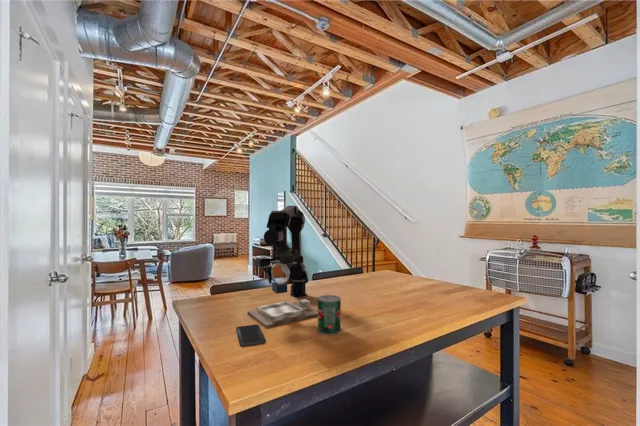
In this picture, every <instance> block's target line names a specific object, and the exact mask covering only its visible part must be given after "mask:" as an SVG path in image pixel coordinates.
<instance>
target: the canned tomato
mask: <svg viewBox="0 0 640 426" xmlns="http://www.w3.org/2000/svg"><path fill="white" fill-rule="evenodd" d="M341 300H342V299H341V297H340V296H337V295H333V294H332V295H331V294H326V295H320V296H318V297H317V310H318V316H317V331H318V333H320V334H322V335H325V336H327V335H328V336H333V335H338V334H340V333H341V332H342V328H341V326H342V325H341V323H342V322H341V321H342V318H341V317H342V315H341V312H342V311H341V308H342V307H341V305H342V304H341Z"/></svg>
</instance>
